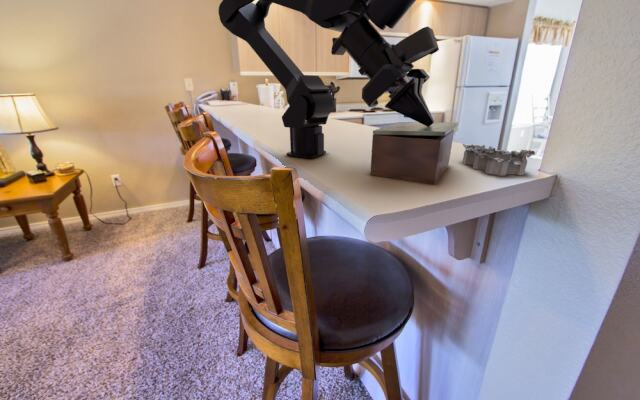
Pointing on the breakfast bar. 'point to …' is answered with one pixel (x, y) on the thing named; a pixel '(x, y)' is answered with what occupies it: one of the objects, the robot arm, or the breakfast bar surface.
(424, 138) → the box
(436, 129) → the lid
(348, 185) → the breakfast bar surface
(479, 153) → the egg carton
